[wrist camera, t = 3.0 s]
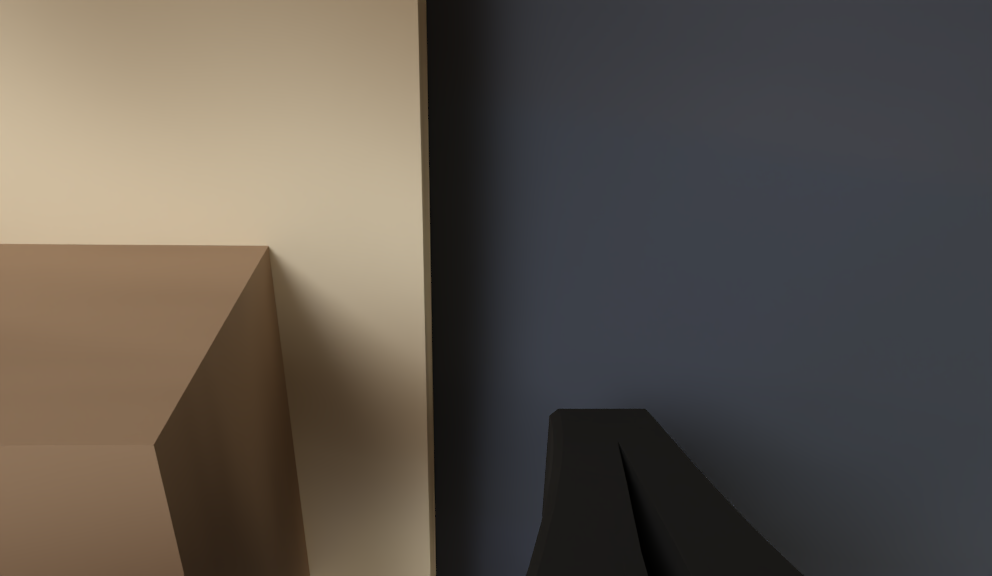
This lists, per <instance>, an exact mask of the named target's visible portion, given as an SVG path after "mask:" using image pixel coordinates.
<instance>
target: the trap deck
mask: <svg viewBox="0 0 992 576" xmlns="http://www.w3.org/2000/svg"><path fill="white" fill-rule="evenodd" d="M0 244H86V245H230V246H268V247H269V255H270V262H271V270H272V278H273V286H274V294H275V302H276V310H277V318H278V326H279V334H280V342H281V350H282V357H283V365H284V373H285V381H286V389H287V397H288V405H289V413H290V421H291V429H292V437H293V445H294V452H295V460H296V468H297V476H298V484H299V492H300V500H301V508H302V516H303V524H304V532H305V540H306V547H307V555H308V563H309V571H310V576H436V545H435V487H434V429H433V371H432V313H431V255H430V197H429V139H428V81H427V23H426V0H0Z"/></svg>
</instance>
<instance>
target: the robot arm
mask: <svg viewBox="0 0 992 576" xmlns="http://www.w3.org/2000/svg"><path fill="white" fill-rule="evenodd" d="M542 517H543V518H542V522H541V526H540V529H539V533H538V536H537V540H536V543H535V547H534V551H533V554H532V558H531V561H530V565H529V568H528V571H527V574H526V576H803V575H802V574H801V573H800V572H799V571H798V570H797V569H796V568H795V567H794V566H793V565H791V564H790V563H789V562H788V561H787V560H786V559H785V558H784V557H783V556H782V555H781V554H780V553H779V552H778V551H777V550H776V549H774V548H773V547H772V546H771V545H770V544H769V543H768V542H767V541H766V540H765V539H764V538H763V537H762V536H761V535H760V534H759V533H758V532H757V531H756V530H755V529H754V528H753V527H752V526H751V525H750V524H749V523H748V522H747V521H746V520H745V519H744V518H743V517H742V516H741V515H740V514H739V513H738V511H737V510H736V509H735V508H734V507H733V506H732V505H731V504H730V503H729V502H728V501H727V500H726V499H725V498H724V497H723V496H722V495H721V494H720V493H719V492H718V490H717V489H716V488H715V487H714V486H713V485H712V484H711V483H710V482H709V481H708V480H707V478H706V477H705V476H704V475H703V474H702V473H701V472H700V471H699V470H698V468H697V467H696V466H695V465H694V464H693V463H692V462H691V460H690V459H689V458H688V457H687V456H686V455H685V454H684V453H683V451H682V450H681V449H680V448H679V447H678V446H677V444H676V443H675V442H674V441H673V440H672V439H671V437H670V436H669V435H668V434H667V433H666V432H665V430H664V429H663V428H662V427H661V426H660V425H659V424H658V422H657V421H656V420H655V419H654V418H653V417H652V416H651V414H650V413H649V412H648V411H647V410H646V409H558V410H556V411H555V412H554V413H552V414H551V415H550V416H549V430H548V443H547V457H546V470H545V484H544V498H543V511H542Z"/></svg>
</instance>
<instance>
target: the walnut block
mask: <svg viewBox="0 0 992 576" xmlns="http://www.w3.org/2000/svg"><path fill="white" fill-rule="evenodd" d="M0 576H310V571H309V563H308V555H307V547H306V540H305V532H304V524H303V516H302V508H301V500H300V492H299V484H298V476H297V468H296V460H295V452H294V445H293V437H292V429H291V421H290V413H289V405H288V397H287V389H286V381H285V373H284V365H283V357H282V350H281V342H280V334H279V326H278V318H277V310H276V302H275V294H274V286H273V278H272V270H271V262H270V255H269V247H268V246H230V245H86V244H0Z"/></svg>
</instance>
